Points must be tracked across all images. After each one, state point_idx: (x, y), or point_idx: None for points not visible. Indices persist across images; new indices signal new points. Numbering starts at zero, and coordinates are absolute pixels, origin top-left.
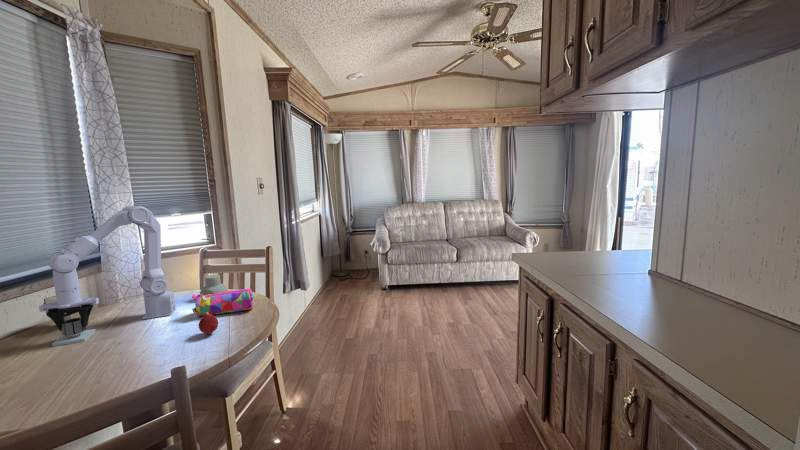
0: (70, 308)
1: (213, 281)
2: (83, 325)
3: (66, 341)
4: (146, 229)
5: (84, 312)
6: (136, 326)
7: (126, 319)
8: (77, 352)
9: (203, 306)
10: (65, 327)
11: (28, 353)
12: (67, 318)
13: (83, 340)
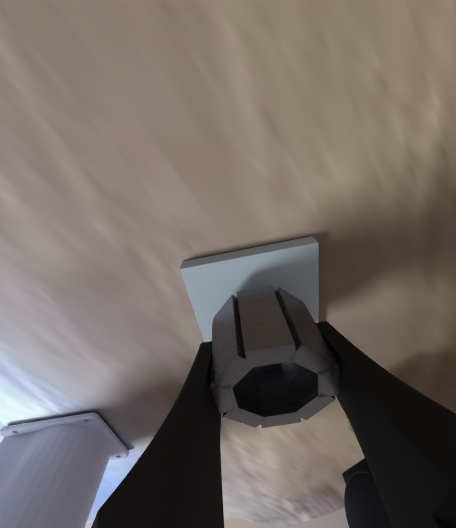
0: (380, 506)
1: None
2: (203, 350)
3: (257, 254)
4: None
5: (141, 474)
6: (61, 365)
7: None
8: (97, 105)
9: None
10: (284, 324)
11: (396, 174)
12: None
13: (185, 263)
